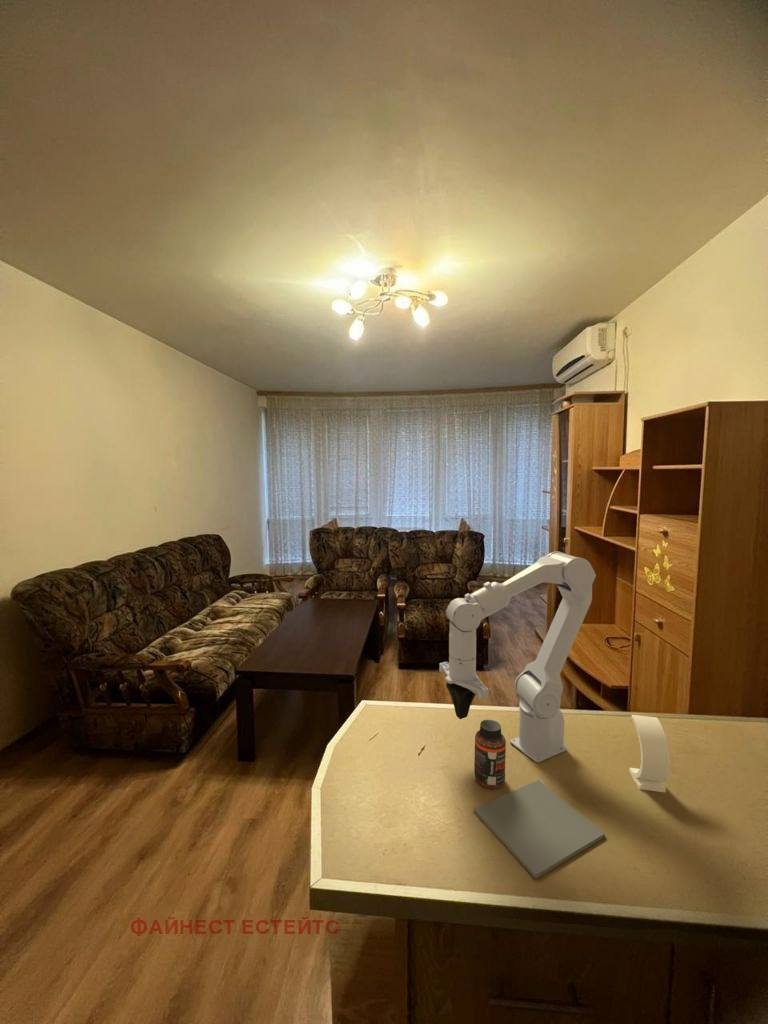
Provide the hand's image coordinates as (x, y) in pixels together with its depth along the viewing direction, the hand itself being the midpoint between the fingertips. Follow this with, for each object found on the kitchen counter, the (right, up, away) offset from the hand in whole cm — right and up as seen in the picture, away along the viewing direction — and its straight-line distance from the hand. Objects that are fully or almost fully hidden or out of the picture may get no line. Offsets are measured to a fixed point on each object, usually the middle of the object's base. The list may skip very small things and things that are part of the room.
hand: (461, 716), depth 88 cm
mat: (+9, -10, -18) cm, 23 cm away
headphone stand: (+35, -9, -8) cm, 37 cm away
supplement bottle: (+4, -9, -7) cm, 12 cm away
